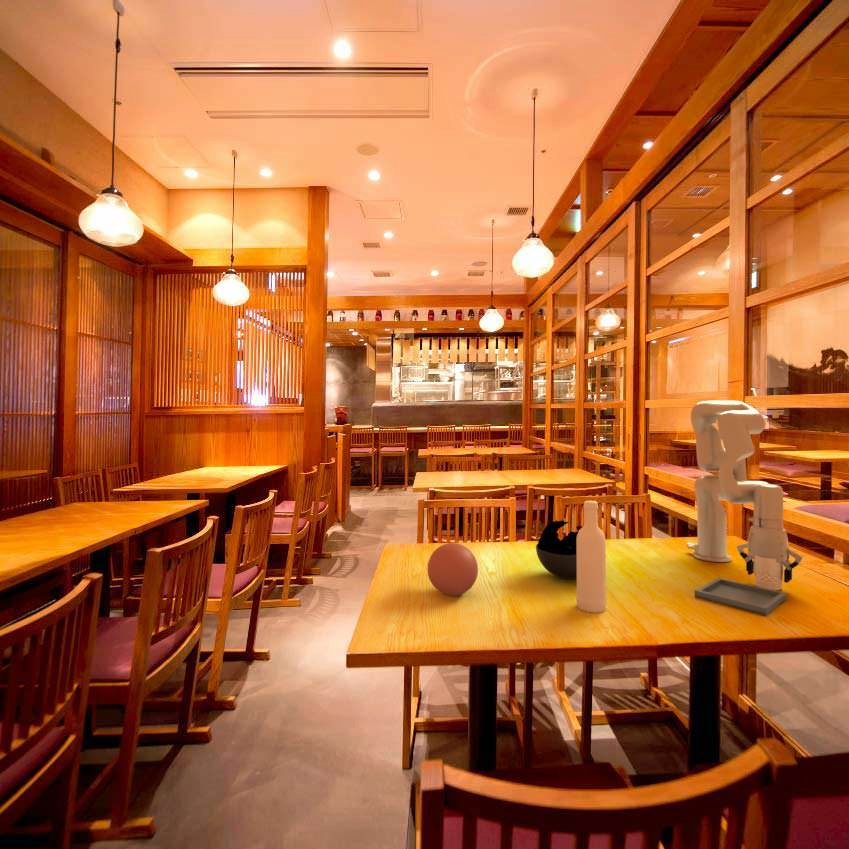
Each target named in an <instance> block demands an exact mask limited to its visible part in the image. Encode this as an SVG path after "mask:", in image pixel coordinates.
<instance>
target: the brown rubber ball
mask: <svg viewBox="0 0 849 849" xmlns="http://www.w3.org/2000/svg"><path fill="white" fill-rule="evenodd" d="M427 563H428V564H427V574H428V576H427V577H428V579H429V581H430V583H431V584H432V586H433V587H434V588H435V589H436V590H437V591H438V592H440V593H442V594H443V595H447V596H459V595H462V594H465V593H466V592H468V591H469V590H471V588H472V587H473V586H474V584H475V583H476V580H477V578H478V574H479V568H478V562H477V558H476V556H475V555H474V553H473V552H472V551H471V549H469V548H468V547H466V546H465V545H463V544H460V543H456V542H449V543H448V542H447V543H444V544H442V545H440V546H439V547H437V548H436V549H435V550H433V552H432V554H431V555H430V557H429V558H428V562H427Z"/></svg>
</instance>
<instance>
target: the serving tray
mask: <svg viewBox="0 0 849 849" xmlns="http://www.w3.org/2000/svg"><path fill="white" fill-rule="evenodd" d="M787 594H788V593H787V592H784V591H783V592H782V591H780V590H770V589H766V588H762V587H758V586H756V585H752V584H748V583H743V582H739V581H735V580H731V579H725V578H722V577H717V578H715V579H713V580H711V581H709V582H707V583H706V584H703V585H702V586H700V587H699V588H696V589H694V597H695V598H696V599H701V600H704V601H708V602H712V603H716V604H720V605H724V606H726V607H731V608H735V609H739V610H742V611H746V612H749V613H754V614H758V615H761V616H766V617H767V616H769V615H770V614H771V613H772V612H774V611H775V610H777V608H779V607H780V606H781V605H783V604H784V603H785V602H786V601H787V599H788V596H787Z"/></svg>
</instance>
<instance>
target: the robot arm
mask: <svg viewBox="0 0 849 849" xmlns="http://www.w3.org/2000/svg"><path fill="white" fill-rule="evenodd" d="M690 423H691V426H692V429H693V433H694V436H695V437H694V438H695V449H696V460H697V461H696V462H697V465H698V468H699V470H701V471H703V472H711V473H714V472H715V473H717V472H718V474H716V475H715V474H714V475H713V474H708V475H707V474H706V475H702V476H699V477H698V478H696V479H695V480H694V481H695V482H694V484H693V485H694V487H693V488H694V492H695V497H696V508H697V512H696V513H697V516H696V517H697V543H691V542H687V543H686V548H687V549H690V550H694V551H693V553H692V556H693V557H694V558H696V559H698V560H701V561H707V562H712V563H713V562H714V563H729V562H731V561H732V556H731V555H729V554H727V551H728V550H727V549H728V548H727V512H726V509H725V507H723V505H722V503H721V502H722V501H728V502H729V503H731V504H738V505H739V504H743V505H744V504H746V505H751V504H752V505H753V516H752V517H748V522H749V523H750V522H751V523H752V525H751V526H750V527H749V532H748V539H747V543H743V544H738V545H736V549H737V551H738V553H739V556H741V557H742V558H743V560H744V562H746V563H745V564H746V565H745V570H746V572H747V575H749V576H751V575H753V574H755V573H754V560H753V558H755V555H756V556H759V557H764V558H771V559H776V562H777V563H782V564H783V565H784V567H785V568H784V569H783V582H784V583H786V584H787V583H789V582H790V581H791V580H792V579H793V569H794V568H795V567H797V566H799V564H800V563H801V562H802V561H803V559H804V557H803V556H802V555H800V554H798V553H797V552H795V551H793V549H792V550H791V549H790V545H789V539H788V534H787V531H786V529H785V528H784V489H783V488H782V486H780V485H778V484H771V483H769V482H768V481H763V480H748V478H747V466H746V458H747V459H748V457H751V456H752V455H753V454H755V450H756V449H755V448H756V447H755V445H754V443H753V440H752V437H751V435H758V434H761V433H762V432H763V431H764V430H765V426H766V423H765V419H764V416H763V415H762V413H761V412H760V411H758V410H757V409H755V408H754V407H752V406H750V405H748V404H746V403H744V402H743V401H739V400H706V401H700V402H698V403H696V404H695V405H693V407H692V408H691V411H690ZM714 424H717V427H716V426H715V425H714ZM720 501H721V502H720ZM744 549H747V552H745V550H744ZM790 556H791V557H792V558H794V561H793V562H791V561H790V560H789V559H790Z"/></svg>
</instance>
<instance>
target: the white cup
mask: <svg viewBox="0 0 849 849" xmlns="http://www.w3.org/2000/svg"><path fill="white" fill-rule="evenodd" d="M752 561H753V562H754V573H753V574H754V580H755V582H754V583H755V584H754V585H755V586H757V587H762V588H766V589H770V590H775V591H781V590H783V589H782V588H783V581H784V567H785V566H784V565H783V564H782V563H777V562H776V559H771V558H764V557H759V556H756V555H755V558H753V559H752Z"/></svg>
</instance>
